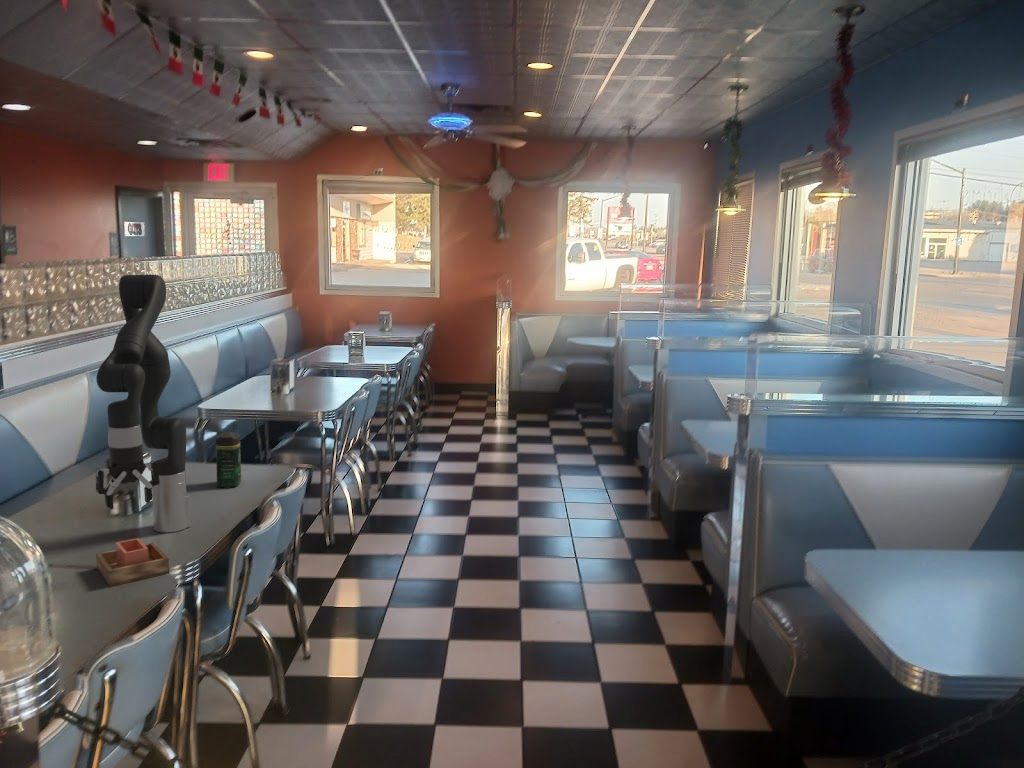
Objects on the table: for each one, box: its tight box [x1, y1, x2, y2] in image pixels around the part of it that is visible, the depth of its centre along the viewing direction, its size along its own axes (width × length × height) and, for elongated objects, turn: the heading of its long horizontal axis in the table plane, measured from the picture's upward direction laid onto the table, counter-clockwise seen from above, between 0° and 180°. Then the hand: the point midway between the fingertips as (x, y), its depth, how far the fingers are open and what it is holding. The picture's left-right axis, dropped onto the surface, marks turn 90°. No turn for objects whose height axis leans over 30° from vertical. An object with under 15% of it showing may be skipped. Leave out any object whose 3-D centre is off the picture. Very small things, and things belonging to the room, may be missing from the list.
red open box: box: [115, 537, 149, 568], centre depth 199 cm, size 9×6×6 cm, turn 39°
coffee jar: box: [215, 431, 242, 489], centre depth 272 cm, size 10×8×19 cm
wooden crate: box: [95, 541, 170, 587], centre depth 199 cm, size 14×14×4 cm
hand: (129, 505), depth 197 cm, fingers open, 8 cm apart
